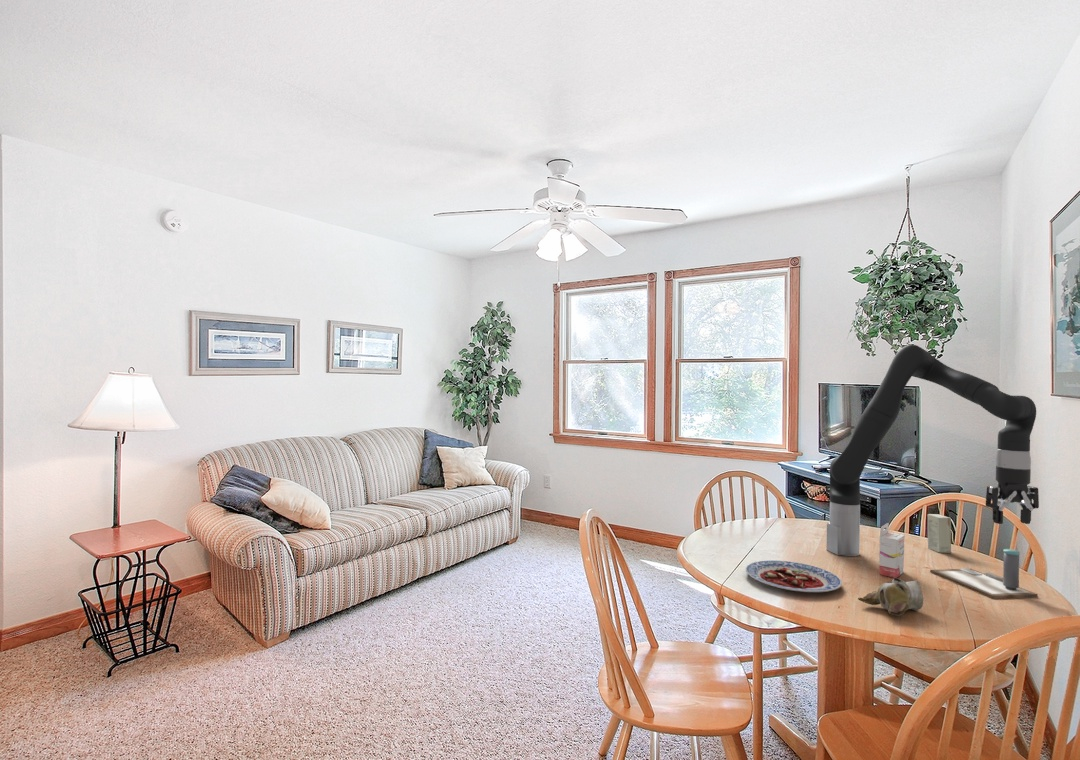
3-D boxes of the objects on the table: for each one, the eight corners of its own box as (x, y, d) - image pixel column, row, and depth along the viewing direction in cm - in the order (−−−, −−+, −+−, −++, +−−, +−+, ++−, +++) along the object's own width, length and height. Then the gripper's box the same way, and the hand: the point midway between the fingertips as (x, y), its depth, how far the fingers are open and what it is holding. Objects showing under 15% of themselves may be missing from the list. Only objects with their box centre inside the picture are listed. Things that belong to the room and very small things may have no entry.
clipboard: (992, 598, 153) (992, 592, 153) (930, 572, 174) (930, 566, 174) (1037, 597, 155) (1037, 590, 155) (970, 571, 176) (970, 565, 176)
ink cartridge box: (897, 578, 168) (898, 529, 168) (878, 574, 172) (879, 526, 172) (904, 572, 174) (905, 524, 174) (886, 568, 178) (887, 521, 178)
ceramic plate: (806, 606, 147) (807, 594, 147) (727, 576, 169) (727, 566, 169) (860, 588, 161) (860, 577, 161) (780, 562, 182) (780, 553, 182)
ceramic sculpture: (937, 581, 141) (890, 590, 137) (938, 615, 141) (892, 625, 137) (898, 567, 152) (854, 575, 147) (900, 599, 152) (856, 608, 147)
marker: (1011, 591, 157) (1011, 552, 157) (999, 586, 160) (1000, 548, 160) (1022, 590, 157) (1022, 552, 157) (1010, 586, 160) (1011, 548, 160)
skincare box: (951, 553, 194) (952, 518, 194) (939, 553, 194) (939, 517, 194) (938, 547, 201) (939, 513, 201) (926, 547, 201) (927, 513, 201)
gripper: (1002, 468, 154) (1001, 527, 154) (1049, 468, 155) (1047, 526, 155) (978, 463, 161) (977, 520, 161) (1022, 464, 163) (1021, 519, 163)
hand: (1011, 523), depth 158 cm, fingers open, 8 cm apart
